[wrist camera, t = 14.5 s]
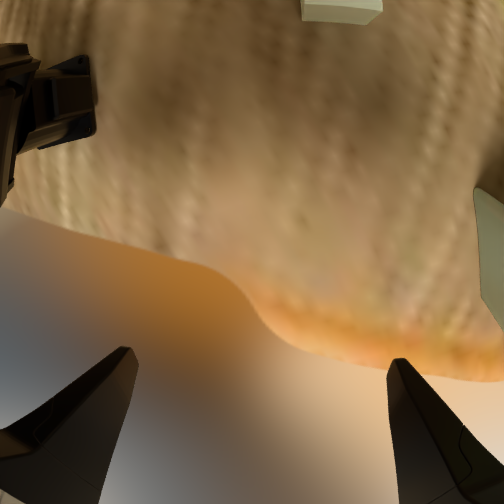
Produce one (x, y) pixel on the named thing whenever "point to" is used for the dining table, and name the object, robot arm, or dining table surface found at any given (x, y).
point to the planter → (491, 251)
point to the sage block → (341, 11)
